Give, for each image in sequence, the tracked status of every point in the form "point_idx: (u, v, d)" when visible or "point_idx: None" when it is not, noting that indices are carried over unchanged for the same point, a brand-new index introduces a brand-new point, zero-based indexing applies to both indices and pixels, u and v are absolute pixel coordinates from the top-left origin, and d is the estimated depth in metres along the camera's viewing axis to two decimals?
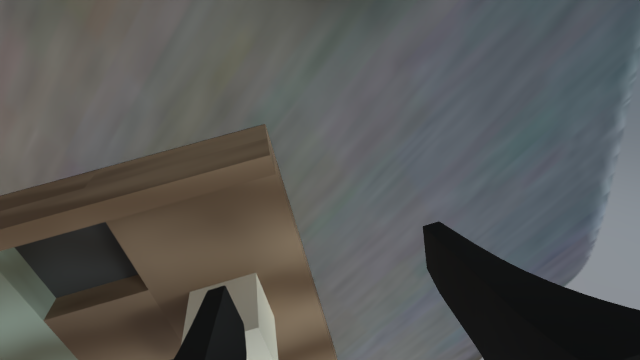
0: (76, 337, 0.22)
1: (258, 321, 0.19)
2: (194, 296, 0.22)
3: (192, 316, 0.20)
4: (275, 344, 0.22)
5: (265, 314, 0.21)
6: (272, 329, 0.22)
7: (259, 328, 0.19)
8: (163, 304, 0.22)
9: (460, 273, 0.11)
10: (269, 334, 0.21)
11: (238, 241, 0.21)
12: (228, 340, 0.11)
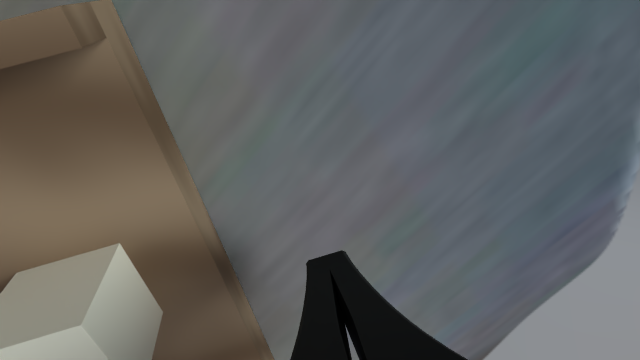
0: None
1: (87, 315, 0.12)
2: (18, 278, 0.14)
3: None
4: (146, 352, 0.14)
5: (127, 306, 0.14)
6: (145, 329, 0.15)
7: (85, 327, 0.11)
8: None
9: (345, 308, 0.11)
10: (128, 337, 0.13)
11: (79, 190, 0.13)
12: (338, 306, 0.12)
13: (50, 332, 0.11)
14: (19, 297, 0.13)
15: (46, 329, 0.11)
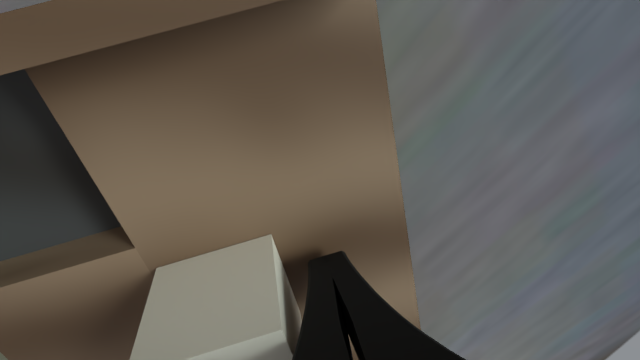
0: (13, 333, 0.13)
1: (280, 317, 0.10)
2: (163, 274, 0.12)
3: (155, 310, 0.11)
4: None
5: (289, 306, 0.12)
6: None
7: (283, 331, 0.10)
8: None
9: (344, 308, 0.11)
10: None
11: (295, 156, 0.12)
12: (339, 306, 0.12)
13: (245, 338, 0.09)
14: (178, 296, 0.11)
15: (237, 334, 0.10)
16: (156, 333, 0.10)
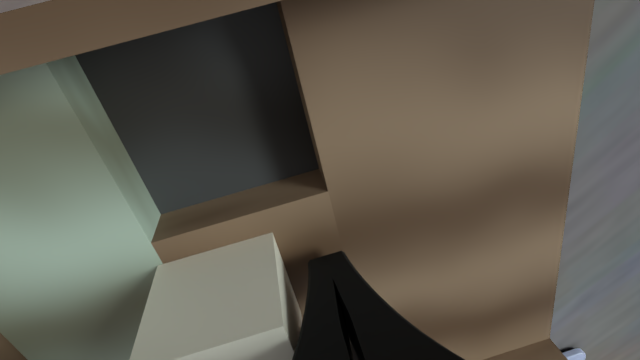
0: None
1: (282, 314, 0.10)
2: (164, 271, 0.12)
3: (156, 307, 0.11)
4: None
5: (290, 304, 0.12)
6: None
7: (284, 328, 0.10)
8: (343, 220, 0.13)
9: (344, 308, 0.11)
10: None
11: (491, 100, 0.12)
12: (339, 306, 0.12)
13: (246, 335, 0.09)
14: (179, 294, 0.11)
15: (238, 331, 0.10)
16: (157, 329, 0.10)
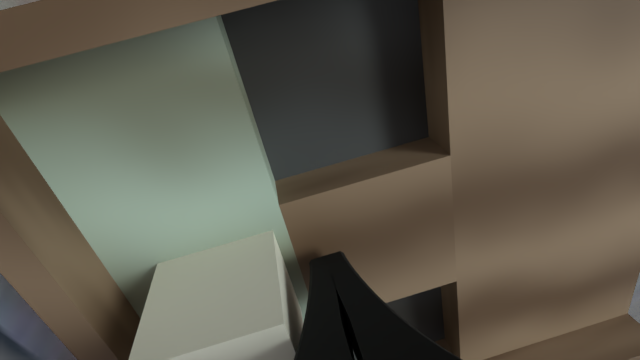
0: (316, 241, 0.13)
1: (282, 312, 0.10)
2: (164, 269, 0.12)
3: (156, 305, 0.11)
4: None
5: (290, 302, 0.12)
6: (301, 329, 0.13)
7: (285, 326, 0.09)
8: (459, 186, 0.13)
9: (343, 309, 0.11)
10: (299, 337, 0.12)
11: (616, 65, 0.12)
12: None
13: (246, 333, 0.09)
14: (179, 291, 0.11)
15: (239, 329, 0.09)
16: (156, 327, 0.10)
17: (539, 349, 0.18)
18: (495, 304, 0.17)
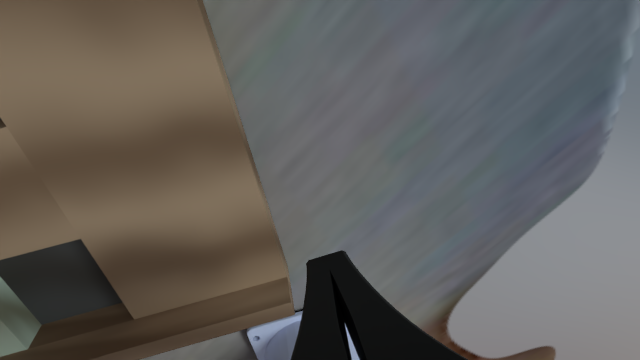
0: None
1: None
2: None
3: None
4: None
5: None
6: None
7: None
8: (32, 154, 0.16)
9: (345, 308, 0.11)
10: None
11: (130, 55, 0.15)
12: (338, 306, 0.12)
13: None
14: None
15: None
16: None
17: (201, 305, 0.21)
18: (136, 262, 0.20)
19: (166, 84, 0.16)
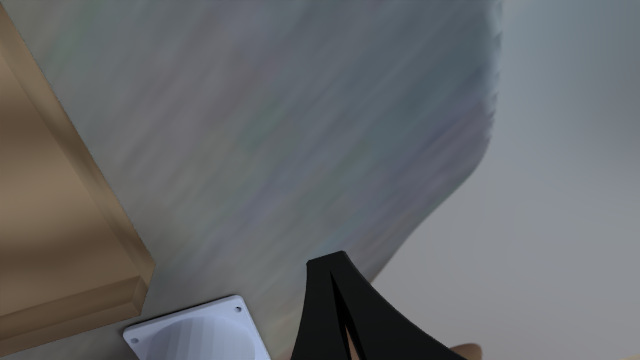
0: None
1: None
2: None
3: None
4: None
5: None
6: None
7: None
8: None
9: (345, 308, 0.11)
10: None
11: None
12: (338, 306, 0.12)
13: None
14: None
15: None
16: None
17: (45, 306, 0.20)
18: None
19: None
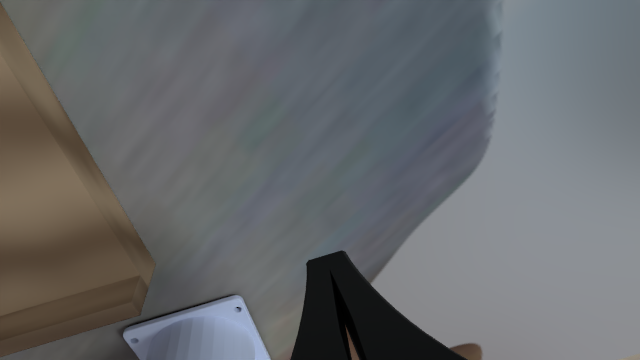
0: None
1: None
2: None
3: None
4: None
5: None
6: None
7: None
8: None
9: (345, 308, 0.11)
10: None
11: None
12: (338, 306, 0.12)
13: None
14: None
15: None
16: None
17: (45, 306, 0.20)
18: None
19: None
